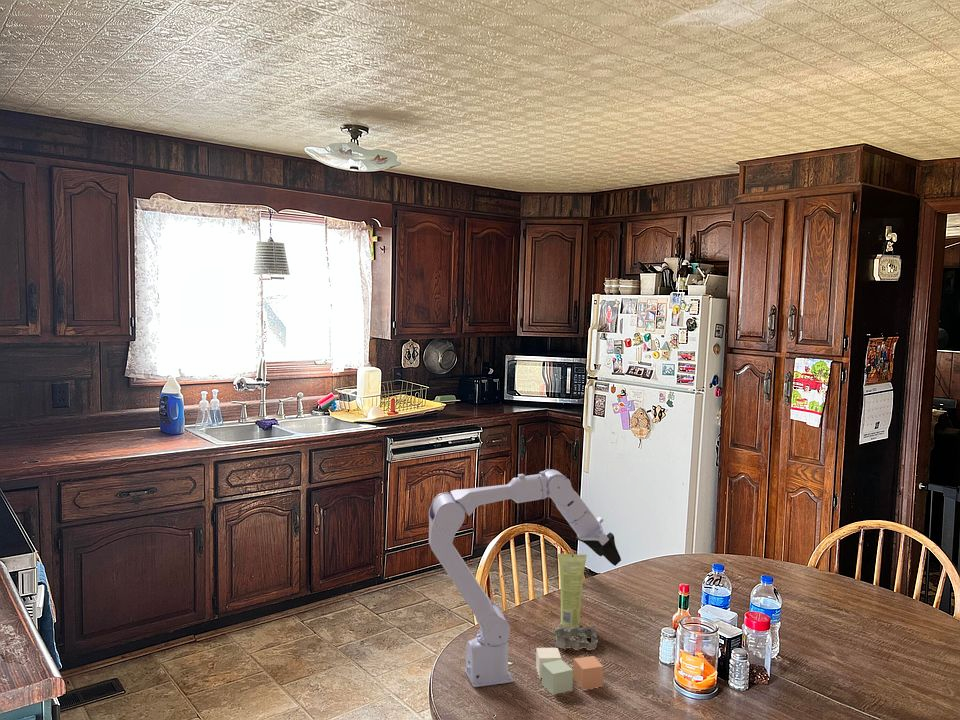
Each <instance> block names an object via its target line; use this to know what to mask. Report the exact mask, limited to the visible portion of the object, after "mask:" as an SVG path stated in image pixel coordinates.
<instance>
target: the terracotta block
mask: <svg viewBox="0 0 960 720" xmlns="http://www.w3.org/2000/svg"><path fill="white" fill-rule="evenodd" d="M572 669H573V678H574V679H575V681H576V682H577V683H578V685H579V686H580V687H581V689H590V688H595V687H602V686H603V687H604V665H603V664H602V663H601V662H600V661H599V659H597V658H596V656H594V655H591V656H584V657H583V656H582V657H575V658H574V657H573V668H572ZM575 681H574V682H575ZM576 682H575V683H576ZM578 685H577V686H578ZM579 686H578V687H579ZM580 687H579V688H580ZM581 689H580V690H581Z"/></svg>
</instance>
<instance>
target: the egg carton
mask: <svg viewBox="0 0 960 720" xmlns="http://www.w3.org/2000/svg"><path fill="white" fill-rule="evenodd" d="M572 636H576V637H578V640H577V639H576V638H572V639H570V638H571V637H572ZM587 637H590V638H591V640H590V642H589V641H588V639H587ZM555 640H556V642H555V647H556V646H558V647H560V648H564V649H565V648H566V647H573V648H575V649H579V648H580V647H586V648H588V649H593V648H595V647H597V646H598V642H599V641H598V640H599V639H598V635H597V631H596V627H595V625H594V626H590V627H589V626H588V627H581V626H579V627H566V626H561V625H559V626H557V627H555V629H554V641H555ZM597 648H598V647H597Z"/></svg>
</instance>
